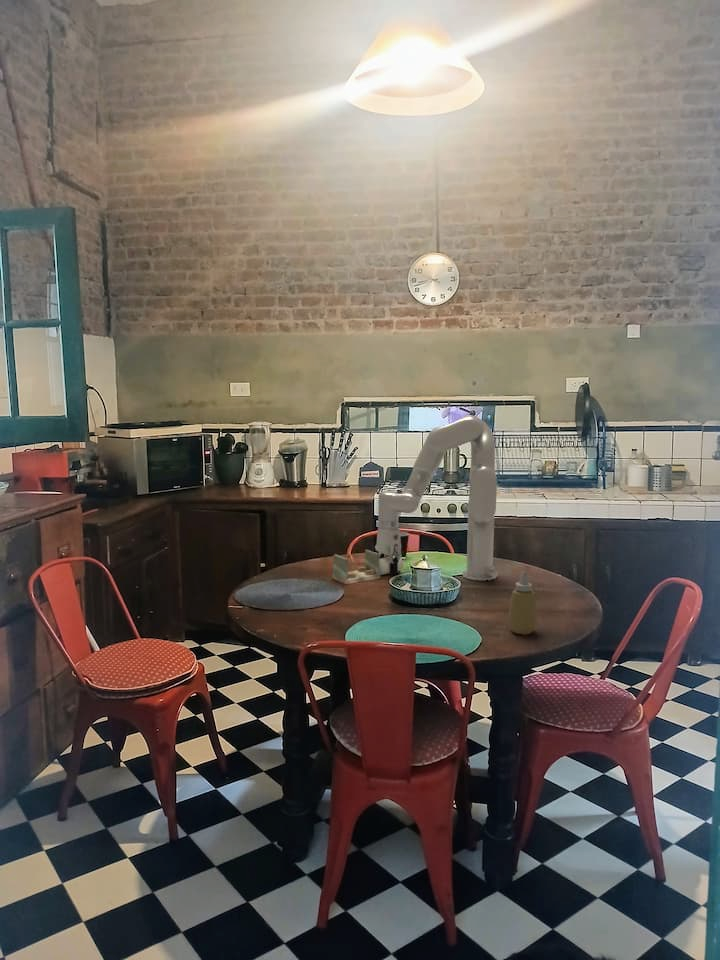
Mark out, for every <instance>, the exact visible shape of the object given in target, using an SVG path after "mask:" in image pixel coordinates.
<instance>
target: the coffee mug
mask: <svg viewBox="0 0 720 960" xmlns="http://www.w3.org/2000/svg"><path fill="white" fill-rule="evenodd" d="M409 535H410V534H409V532H405V531H400V539H401V554H402V556H401V557H405V556H406V557H407V553H408V552H407V551H408V545H409ZM393 555H394V553H393Z"/></svg>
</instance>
